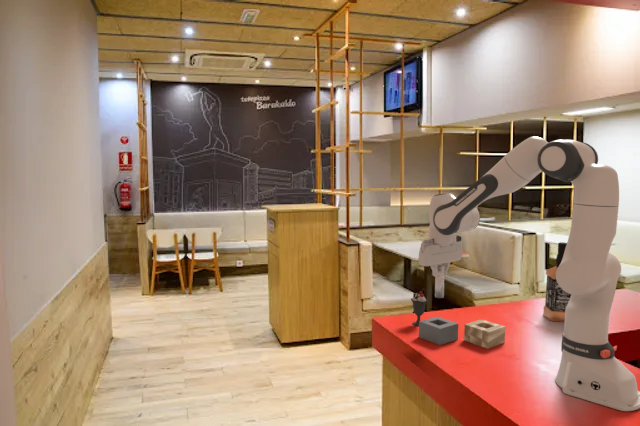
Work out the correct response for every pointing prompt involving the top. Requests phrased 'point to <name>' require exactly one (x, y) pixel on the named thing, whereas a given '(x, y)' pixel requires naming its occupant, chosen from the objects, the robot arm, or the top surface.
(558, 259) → the whiskey bottle
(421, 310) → the sundae
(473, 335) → the mount block
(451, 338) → the dock block
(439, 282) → the pin
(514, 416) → the top surface
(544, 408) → the top surface
